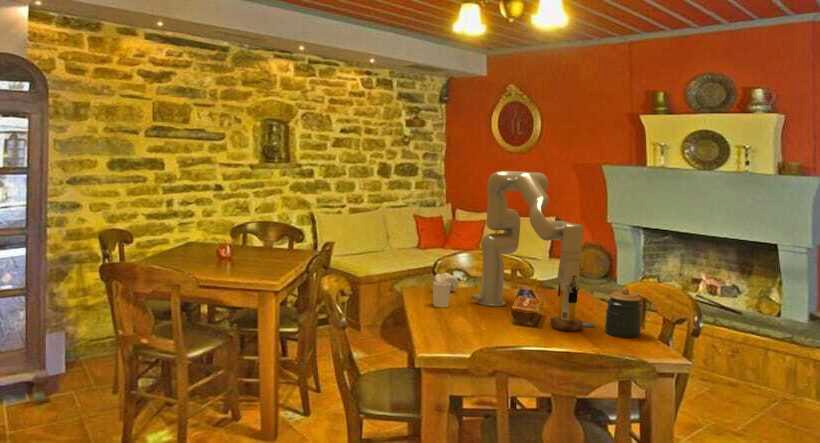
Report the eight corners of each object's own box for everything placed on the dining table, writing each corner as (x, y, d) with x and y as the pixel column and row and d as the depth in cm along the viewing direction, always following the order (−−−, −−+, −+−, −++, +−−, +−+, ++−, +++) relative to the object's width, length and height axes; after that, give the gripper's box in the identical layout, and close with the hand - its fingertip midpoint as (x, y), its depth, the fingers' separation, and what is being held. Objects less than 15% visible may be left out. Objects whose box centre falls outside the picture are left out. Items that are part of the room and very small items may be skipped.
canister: (636, 340, 220) (640, 293, 218) (600, 334, 226) (603, 288, 225) (643, 332, 231) (647, 287, 229) (609, 326, 237) (612, 282, 236)
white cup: (429, 306, 260) (430, 283, 259) (435, 303, 267) (436, 280, 266) (446, 308, 257) (447, 285, 256) (452, 305, 264) (453, 282, 263)
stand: (557, 332, 227) (558, 324, 226) (545, 323, 238) (546, 316, 238) (587, 332, 228) (588, 324, 228) (574, 323, 240) (574, 316, 240)
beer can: (575, 319, 235) (577, 281, 234) (573, 322, 230) (576, 284, 228) (559, 317, 237) (561, 279, 236) (557, 321, 232) (559, 282, 230)
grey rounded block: (448, 296, 282) (449, 277, 281) (426, 292, 288) (427, 274, 287) (460, 292, 291) (460, 274, 290) (438, 288, 298) (439, 270, 297)
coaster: (581, 327, 235) (581, 325, 235) (573, 322, 242) (573, 321, 242) (598, 327, 236) (598, 325, 236) (590, 322, 243) (590, 321, 243)
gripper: (552, 251, 239) (549, 294, 241) (570, 259, 222) (567, 305, 224) (570, 252, 240) (567, 294, 242) (589, 260, 223) (586, 305, 225)
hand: (567, 299), depth 233 cm, fingers open, 9 cm apart
